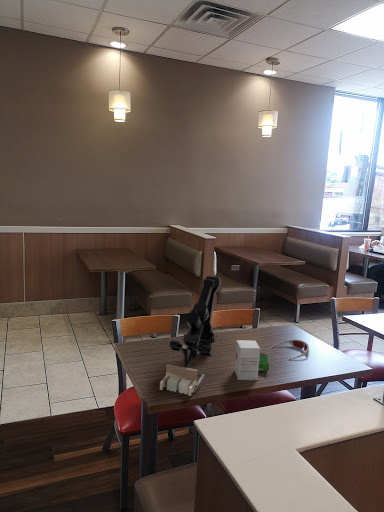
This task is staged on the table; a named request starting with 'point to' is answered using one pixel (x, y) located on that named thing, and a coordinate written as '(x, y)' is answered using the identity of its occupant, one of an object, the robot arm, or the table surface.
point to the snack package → (263, 362)
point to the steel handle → (198, 380)
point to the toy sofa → (180, 376)
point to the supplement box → (247, 360)
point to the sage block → (173, 384)
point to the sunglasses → (297, 346)
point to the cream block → (184, 386)
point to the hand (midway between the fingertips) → (186, 367)
